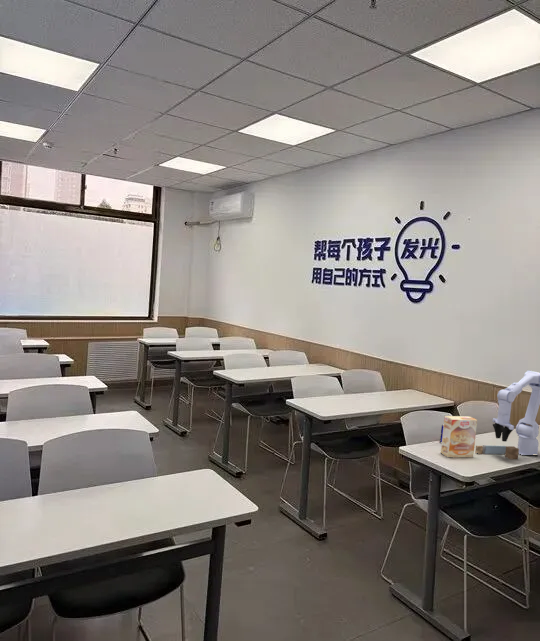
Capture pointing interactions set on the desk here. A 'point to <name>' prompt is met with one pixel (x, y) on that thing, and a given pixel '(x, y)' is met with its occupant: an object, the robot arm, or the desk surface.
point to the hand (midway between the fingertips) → (501, 439)
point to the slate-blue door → (493, 449)
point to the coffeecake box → (458, 436)
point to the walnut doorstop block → (511, 452)
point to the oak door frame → (479, 449)
